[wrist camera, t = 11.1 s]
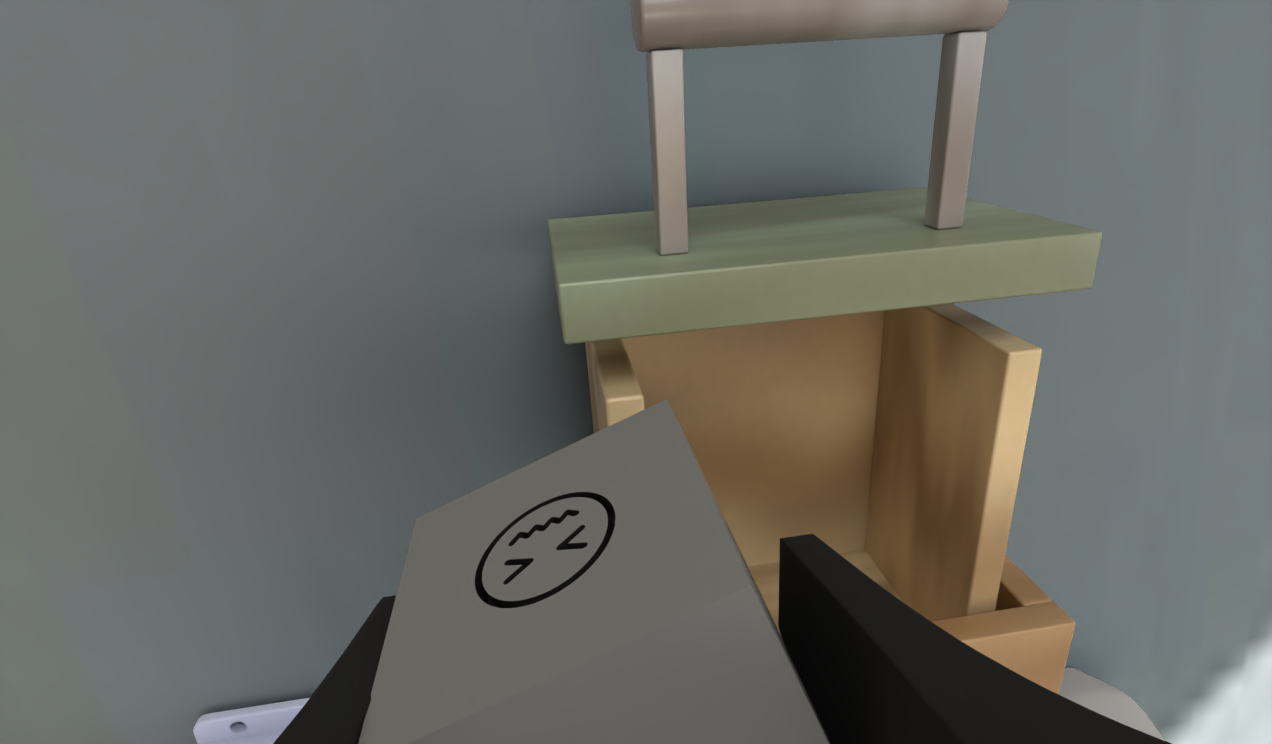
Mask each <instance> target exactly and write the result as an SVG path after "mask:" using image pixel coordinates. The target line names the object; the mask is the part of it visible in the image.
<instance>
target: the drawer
mask: <svg viewBox="0 0 1272 744" xmlns="http://www.w3.org/2000/svg"><path fill="white" fill-rule="evenodd" d="M1008 3H1009V0H631V14H632V29H633V36H634V42H635V45H636V47H637V50H638V51H641V52H648V51H650V52H648V53H647V54H646V61H647V81H648V102H649V122H650V143H651V163H652V184H653V205H654V211H643V212H631V213H620V214H608V215H596V216H585V217H573V218H561V219H550V220H548V222H547V223H548V232H549V241H550V251H551V260H552V267H553V274H554V280H555V287H556V294H557V301H558V308H559V314H560V321H561V328H562V335H563V341H564V343H565V344H576V343H585V346H586V356H587V367H588V378H589V388H590V399H591V410H592V420H593V431H594V433H596V432H598V431H600V430H602V429H604V428H607V427H609V426H611V425H613V424H615V423H617V422H619V421H621V420H623V419H625V418H628V417H630V416H632V415H634V414H636V413H638V412H640V411H642V410H644V409H647V408H649V407H651V406H653V405H655V404H657V403H659V402H661V401H663V400H666V399H668V401H669V403H670V405H671V408H672V410H673V412H674V414H675V416H676V418H677V420H678V422H679V424H680V426H681V428H682V430H683V432H684V434H685V437H686V439H687V441H688V443H689V445H690V447H691V449H692V451H693V453H694V455H695V457H696V459H697V461H698V463H699V466H700V468H701V470H702V472H703V474H704V476H705V478H706V480H707V482H708V484H709V486H710V488H711V490H712V492H713V495H714V497H715V499H716V501H717V503H718V505H719V507H720V509H721V511H722V513H723V515H724V517H725V519H726V521H727V524H728V526H729V528H730V530H731V532H732V534H733V536H734V538H735V540H736V542H737V544H738V546H739V548H740V550H741V553H742V555H743V557H744V559H745V561H746V563H747V565H748V567H749V569H750V571H751V573H752V575H753V577H754V579H755V582H756V584H757V586H758V588H759V590H760V592H761V594H762V596H763V598H764V600H765V603H766V605H767V607H768V609H769V611H770V613H771V616H772V618H773V620H774V622H775V624H776V626H777V628H778V616H779V560H780V538H786V537H793V536H799V535H806V534H814V535H815V536H817V537H818V538H819V539H821V540H822V541H823V542H825V543H826V544H827V545H828V546H830V547H831V548H832V549H833V550H835V551H836V552H837V553H839V554H840V555H841V556H842V557H844V558H845V559H846V560H847V561H849V562H850V563H851V564H853V565H854V566H855V567H856V568H858V569H859V570H860V571H862V572H863V573H864V574H866V575H867V576H868V577H869V578H871V579H872V580H873V581H875V582H876V583H877V584H879V585H880V586H881V587H883V588H884V589H885V590H887V591H888V592H890V593H891V594H892V595H894V596H895V597H896V598H898V599H899V600H901V601H902V602H903V603H905V604H906V605H908V606H909V607H910V608H912V609H913V610H915V611H916V612H918V613H919V614H921V615H922V616H923V617H925V618H926V619H928V620H929V621H935V620H942V619H948V618H954V617H960V616H967V615H973V614H979V613H985V612H991V611H995V608H996V603H997V597H998V592H999V586H1000V581H1001V575H1002V570H1003V564H1004V559H1005V553H1006V548H1007V542H1008V537H1009V531H1010V526H1011V520H1012V515H1013V509H1014V504H1015V498H1016V493H1017V487H1018V482H1019V476H1020V471H1021V465H1022V460H1023V454H1024V449H1025V443H1026V438H1027V432H1028V427H1029V421H1030V416H1031V410H1032V405H1033V399H1034V394H1035V388H1036V383H1037V377H1038V372H1039V366H1040V360H1041V355H1042V349H1041V348H1039V347H1037V346H1035V345H1033V344H1031V343H1029V342H1027V341H1025V340H1023V339H1021V338H1019V337H1017V336H1015V335H1013V334H1011V333H1009V332H1007V331H1005V330H1003V329H1001V328H999V327H997V326H995V325H993V324H991V323H989V322H987V321H985V320H983V319H981V318H979V317H977V316H975V315H973V314H971V313H969V312H967V311H965V310H963V309H961V308H959V307H957V306H955V305H953V304H952V303H961V302H971V301H980V300H989V299H999V298H1008V297H1018V296H1027V295H1036V294H1046V293H1055V292H1065V291H1074V290H1083V289H1090V288H1091V287H1092V284H1093V279H1094V274H1095V269H1096V264H1097V259H1098V254H1099V249H1100V244H1101V239H1102V232H1100V231H1097V230H1093V229H1089V228H1085V227H1081V226H1077V225H1073V224H1068V223H1064V222H1060V221H1056V220H1052V219H1048V218H1044V217H1040V216H1036V215H1032V214H1028V213H1024V212H1020V211H1016V210H1012V209H1008V208H1004V207H1000V206H996V205H992V204H988V203H984V202H980V201H976V200H972V199H968V198H966V196H967V188H968V180H969V172H970V164H971V156H972V148H973V140H974V132H975V123H976V115H977V107H978V99H979V91H980V83H981V75H982V67H983V59H984V51H985V43H986V35H987V34H986V32H985V31H988V30H990V29H992V28H993V27H995V26H996V25H997V24H998V23H999V22H1000V20H1001V19H1002V17H1003V16H1004V14H1005V12H1006V9H1007V7H1008ZM950 33H952V34H950ZM933 34H946V35H944V36H943V42H942V52H941V62H940V72H939V82H938V91H937V101H936V111H935V121H934V130H933V140H932V150H931V160H930V169H929V179H928V188H924V187H923V188H911V189H899V190H888V191H876V192H864V193H853V194H841V195H829V196H818V197H806V198H794V199H783V200H771V201H760V202H748V203H736V204H725V205H713V206H701V207H690V208H687V178H686V145H685V111H684V78H683V51H682V50H681V49H698V48H715V47H732V46H749V45H765V44H782V43H799V42H816V41H833V40H849V39H866V38H883V37H900V36H917V35H933ZM778 631H779V628H778ZM779 633H780V631H779ZM780 635H781V634H780Z"/></svg>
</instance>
